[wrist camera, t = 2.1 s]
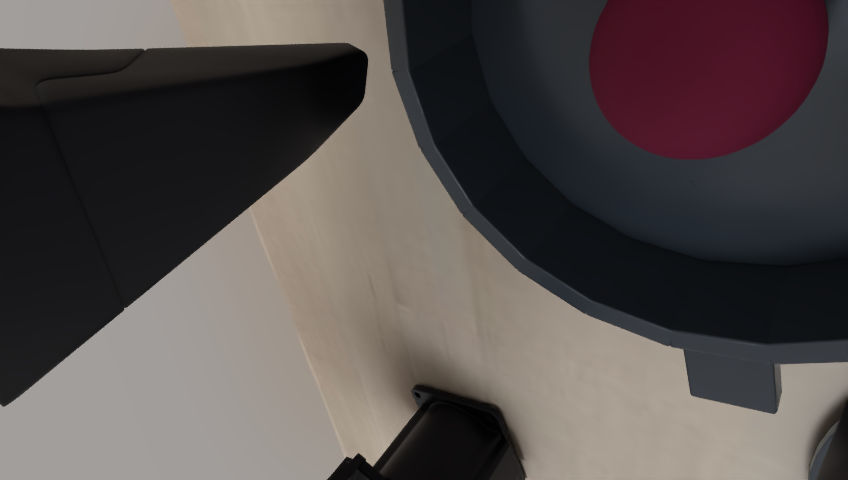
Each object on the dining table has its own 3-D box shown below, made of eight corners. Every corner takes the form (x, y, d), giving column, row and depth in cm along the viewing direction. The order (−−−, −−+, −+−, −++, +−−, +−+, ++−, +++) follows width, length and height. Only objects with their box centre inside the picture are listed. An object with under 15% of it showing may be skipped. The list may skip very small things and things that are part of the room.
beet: (642, 118, 17) (579, 197, 14) (614, -50, 15) (533, -1, 12) (839, 100, 14) (813, 197, 11) (841, -119, 11) (809, -75, 8)
